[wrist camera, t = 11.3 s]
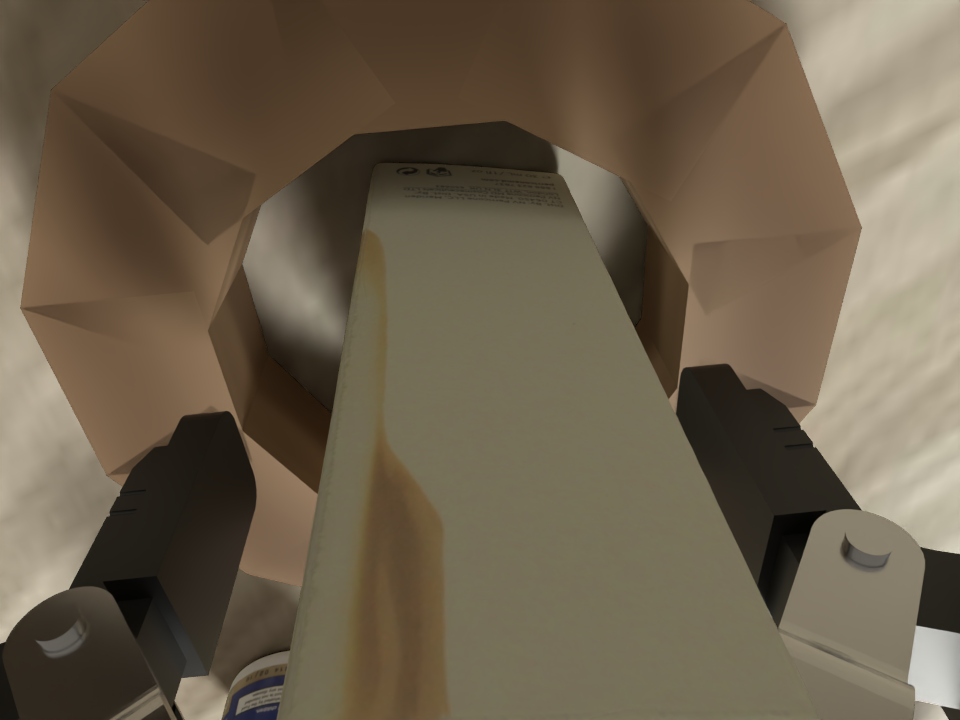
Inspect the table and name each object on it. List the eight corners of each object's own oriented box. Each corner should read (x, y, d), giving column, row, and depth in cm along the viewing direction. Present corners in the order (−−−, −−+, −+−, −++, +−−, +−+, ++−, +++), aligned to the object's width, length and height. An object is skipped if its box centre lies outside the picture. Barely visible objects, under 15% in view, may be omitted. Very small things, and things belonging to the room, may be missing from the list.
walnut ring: (851, -143, 12) (961, -156, 10) (731, 494, 21) (772, 573, 19) (-46, -66, 12) (-169, -58, 9) (217, 547, 21) (188, 633, 18)
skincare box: (369, 156, 15) (241, 724, 4) (567, 167, 15) (863, 709, 5) (371, 395, 18) (302, 1017, 8) (531, 400, 19) (659, 993, 8)
